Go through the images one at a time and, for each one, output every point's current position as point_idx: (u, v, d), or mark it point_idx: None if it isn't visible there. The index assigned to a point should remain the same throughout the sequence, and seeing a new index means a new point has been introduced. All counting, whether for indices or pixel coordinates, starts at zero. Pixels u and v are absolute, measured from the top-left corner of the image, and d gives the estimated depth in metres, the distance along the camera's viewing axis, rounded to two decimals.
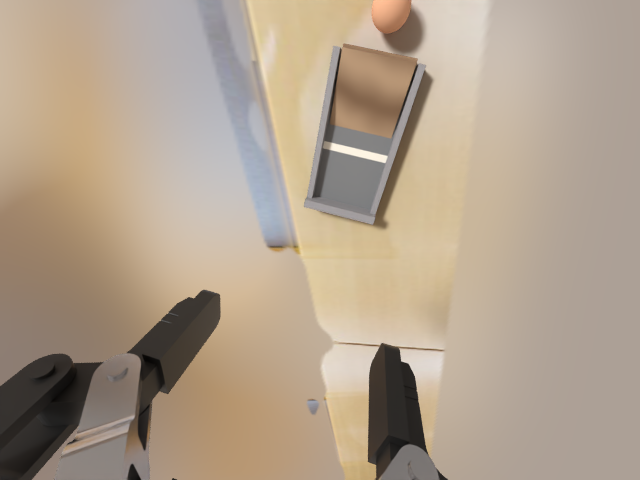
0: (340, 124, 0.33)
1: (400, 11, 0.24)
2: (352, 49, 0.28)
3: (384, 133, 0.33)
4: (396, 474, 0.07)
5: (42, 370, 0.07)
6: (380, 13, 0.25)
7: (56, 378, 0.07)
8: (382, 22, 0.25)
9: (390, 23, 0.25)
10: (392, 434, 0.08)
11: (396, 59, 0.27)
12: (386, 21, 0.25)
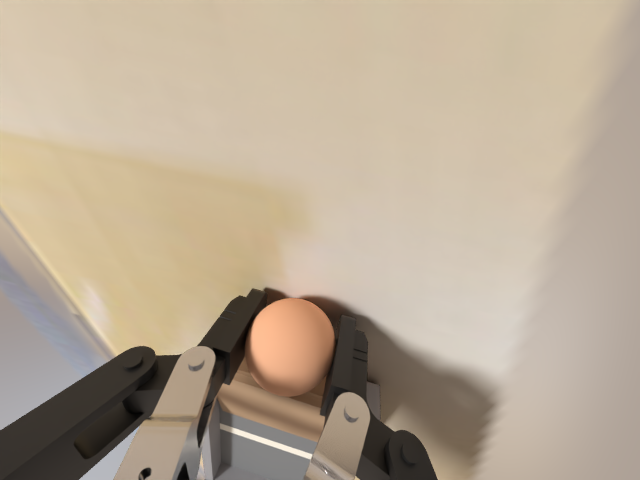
0: (240, 416, 0.18)
1: (302, 393, 0.10)
2: None
3: (317, 441, 0.18)
4: (331, 413, 0.08)
5: (132, 361, 0.08)
6: (257, 382, 0.10)
7: (145, 368, 0.08)
8: None
9: None
10: (335, 384, 0.09)
11: (317, 404, 0.13)
12: None
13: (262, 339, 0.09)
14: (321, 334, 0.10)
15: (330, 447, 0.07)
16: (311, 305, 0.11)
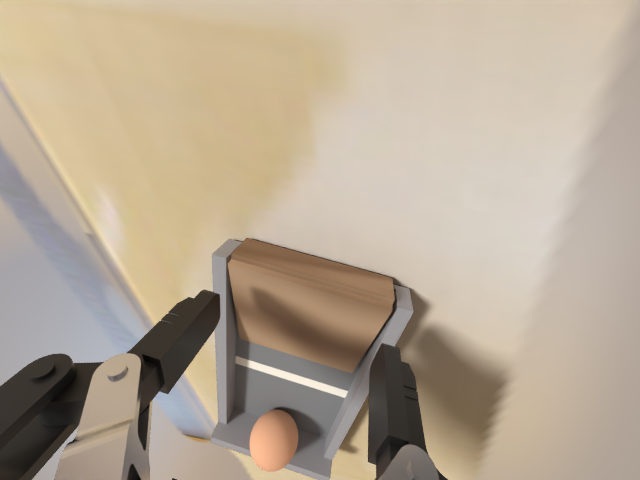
0: (258, 342, 0.18)
1: None
2: (250, 268, 0.12)
3: (338, 366, 0.17)
4: (396, 474, 0.07)
5: (42, 371, 0.07)
6: None
7: (56, 378, 0.07)
8: None
9: None
10: (392, 434, 0.08)
11: (347, 296, 0.12)
12: None
13: None
14: (280, 468, 0.19)
15: None
16: (272, 462, 0.18)
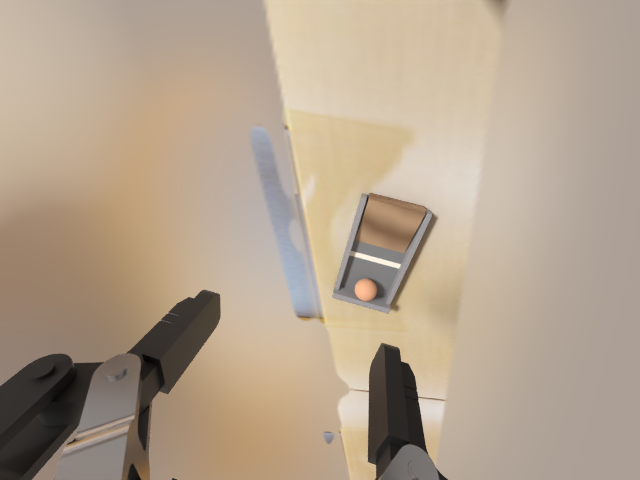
0: (363, 241, 0.42)
1: None
2: (376, 201, 0.37)
3: (398, 250, 0.41)
4: (396, 474, 0.07)
5: (42, 371, 0.07)
6: None
7: (56, 378, 0.07)
8: None
9: None
10: (392, 434, 0.08)
11: (410, 210, 0.36)
12: None
13: (358, 297, 0.43)
14: (371, 297, 0.43)
15: None
16: (369, 291, 0.42)
